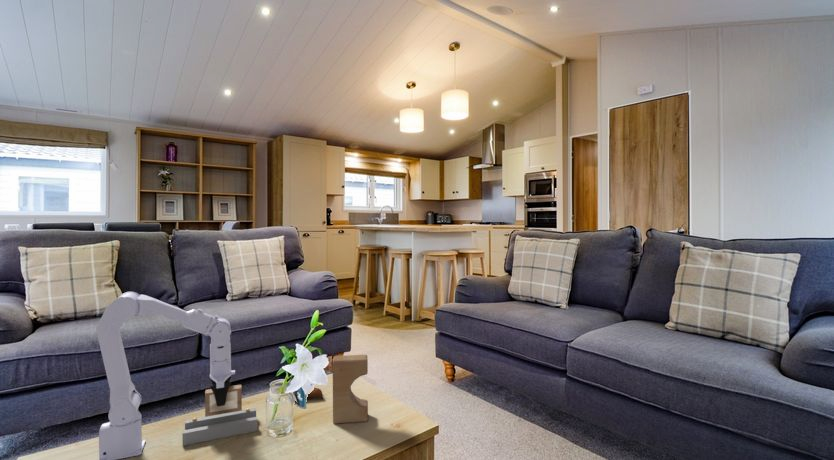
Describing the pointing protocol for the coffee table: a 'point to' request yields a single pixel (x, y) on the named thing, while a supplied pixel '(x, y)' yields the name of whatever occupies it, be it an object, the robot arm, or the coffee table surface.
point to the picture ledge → (219, 426)
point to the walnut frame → (230, 406)
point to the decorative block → (348, 389)
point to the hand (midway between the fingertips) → (221, 402)
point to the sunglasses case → (315, 394)
